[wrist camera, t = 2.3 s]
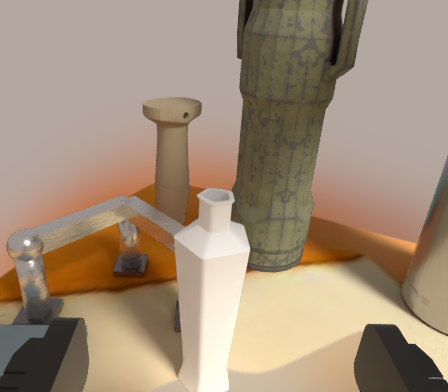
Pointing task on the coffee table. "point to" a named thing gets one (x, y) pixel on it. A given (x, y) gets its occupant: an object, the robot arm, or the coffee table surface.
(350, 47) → the thermos
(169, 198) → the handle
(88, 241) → the coffee table surface
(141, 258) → the bent rail
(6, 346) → the slate mat
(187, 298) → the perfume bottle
